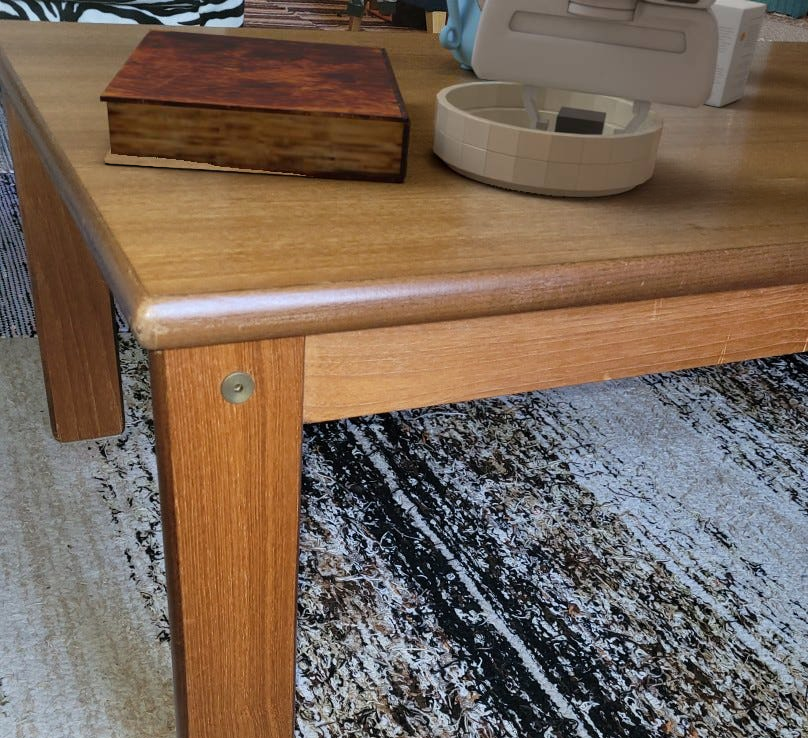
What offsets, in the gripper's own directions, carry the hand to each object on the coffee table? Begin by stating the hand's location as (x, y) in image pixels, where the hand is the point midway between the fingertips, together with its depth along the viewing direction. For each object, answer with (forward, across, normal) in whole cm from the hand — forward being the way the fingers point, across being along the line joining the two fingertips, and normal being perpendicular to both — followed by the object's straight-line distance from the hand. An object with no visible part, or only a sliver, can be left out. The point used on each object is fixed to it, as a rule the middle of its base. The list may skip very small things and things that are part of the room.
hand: (577, 147), depth 87 cm
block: (+1, 0, 0) cm, 1 cm away
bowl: (+2, -3, 0) cm, 4 cm away
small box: (+2, +13, +42) cm, 44 cm away
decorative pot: (+2, -12, +41) cm, 43 cm away
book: (+2, -29, -1) cm, 29 cm away
